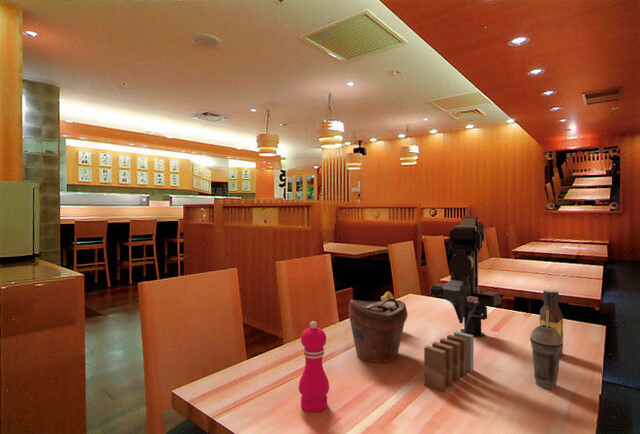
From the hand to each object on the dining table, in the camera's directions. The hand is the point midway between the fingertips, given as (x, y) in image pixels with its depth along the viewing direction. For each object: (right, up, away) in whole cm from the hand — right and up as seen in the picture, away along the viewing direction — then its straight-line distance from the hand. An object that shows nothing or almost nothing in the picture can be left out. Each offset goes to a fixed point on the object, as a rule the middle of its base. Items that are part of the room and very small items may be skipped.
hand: (463, 323), depth 103 cm
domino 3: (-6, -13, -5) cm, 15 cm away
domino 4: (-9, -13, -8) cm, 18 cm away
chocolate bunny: (-16, -12, +32) cm, 38 cm away
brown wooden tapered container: (-23, -13, +10) cm, 28 cm away
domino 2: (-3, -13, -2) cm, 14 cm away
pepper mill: (-43, -14, -18) cm, 49 cm away
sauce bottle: (+32, -13, +11) cm, 36 cm away
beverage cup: (+18, -13, -10) cm, 24 cm away
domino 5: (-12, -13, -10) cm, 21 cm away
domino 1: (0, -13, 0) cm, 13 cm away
